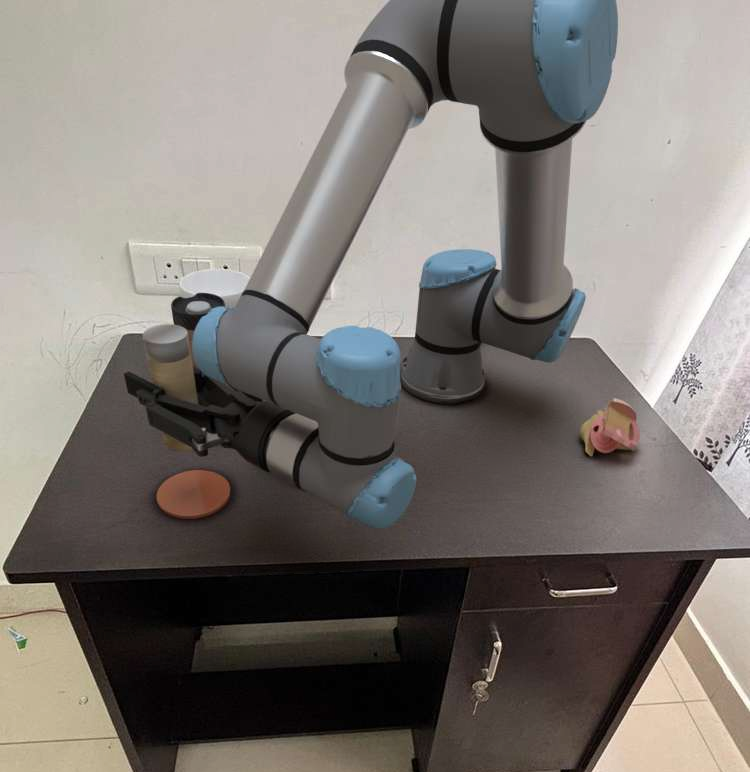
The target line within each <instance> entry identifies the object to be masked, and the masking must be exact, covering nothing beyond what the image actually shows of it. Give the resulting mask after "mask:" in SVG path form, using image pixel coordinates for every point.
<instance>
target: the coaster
mask: <svg viewBox="0 0 750 772" xmlns="http://www.w3.org/2000/svg"><path fill="white" fill-rule="evenodd" d="M230 498H231V486H230V483H229V481H228V480H227V479H226V478H225V477H224V476H223V475H221V474H219V473H217V472H214V471H211V470H205V469H193V470H187V471H182V472H179V473H176V474H174V475H172V476H170V477H169V478H167V479H166V480H164V482H163V481H162V483H161V485H160V486H159V487H158V489H157V492H156V502H157V505H158V508H160V510H161V511H162V512H163V513H165V514H166V515H168V516H171V517H173V518H176V519H182V520H196V519H201V518H205V517H209V516H210V515H213V514H215V513H217V512H219V511H220V510H222V508H224V507H225V506H226V505H227V504H228V502H229V500H230Z"/></svg>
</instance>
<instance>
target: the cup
mask: <svg viewBox="0 0 750 772" xmlns="http://www.w3.org/2000/svg"><path fill="white" fill-rule="evenodd" d="M250 278H251V277H250V276H248V275H247V274H246V273H245V272H241V271H238V270H235V269H228V268H208V269H207V268H206V269H201V270H196V271H193V272H191V273H188V274H186V275H184V276H183V277H182V278H181V279H180V280H179V284H178V285H179V287H178V289H179V292H180V296H181V297H183V298H189V297H193V296H195V295H196V294H197V293H210V294H214V295H217V296H219V297H221V298H222V299H223V300H224V303H225V307H233V308H235V306H236V305H237V302H238V300H239V299H240V297H241V295H242V293H243V291H244V290H245V288H246V286H247V284H248V282H249V280H250Z"/></svg>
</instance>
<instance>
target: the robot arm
mask: <svg viewBox="0 0 750 772" xmlns="http://www.w3.org/2000/svg"><path fill="white" fill-rule="evenodd" d="M618 15H619V13H618V5H617V0H388V2H387V3H386V4H385V5H384V6H383V7H382V8H381V9H380V10H379V12H378V13H376V15H375V16H374V17H373V18H372V19H371V20H370V22H369V23H368V24H367V26H366V28H365V29H364V31H363V32H362V34H361V35H360V37H359V38H358V40H357V42H356V44H355V46H354V48H353V50H352V52H351V53H350V56H349V58H348V60H347V61H346V64H345V67H344V72H343V75H344V82H345V86H346V87H345V89H344V90H343V92H342V94H341V97H340V99H339V101H338V103H337V105H336V107H335V108H334V111H333V113H332V115H331V117H330V118H329V121H328V123H327V125H326V127H325V129H324V131H323V133H322V134H321V137H320V139H319V140H318V142H317V145H316V146H315V148H314V150H313V152H312V154H311V157H310V158H309V160H308V163H307V164H306V167H305V168H304V171H303V173H302V175H300V179H299V180H298V182H297V184H296V186H295V188H294V189H293V192H292V194H291V196H290V198H289V201H288V202H287V204H286V207H285V208H284V211H283V212H282V214H281V216H280V218H279V220H278V221H277V224H276V226H275V228H274V230H273V232H272V235H271V236H270V238H269V239H268V242H267V244H266V246H265V248H264V250H263V252H262V254H261V255H260V257H259V260H258V262H257V264H256V266H255V268H254V270H253V272H252V274H251V276H250V277H249V278H250V280H249V282H248V284H247V286H246V288H245V290H244V291H243V293H242V295H241V297H240V299H239V300H238V302H237V305H236V306H235V308H233V307H216V308H213V309H211V310H210V311H209V313H208V314H207V315H205V316H203V317H202V318H201V319H200V321H199V322H198V324H197V326H196V328H195V331H194V335H193V341H192V351H193V357H194V360H195V362H196V364H197V366H198V367H196V366H193V371H194V378H195V384H196V391H197V392H199V393H200V392H202V391H204V387H206V394H207V396H208V394H209V395H212V396H213V397H214V398H215V399H216V400H217V401H218V402H219V403H221V404H222V405H223V406H224V408H222V407H218V406H215V405H209V406H208V407H205V406H202V405H198V404H194V403H191V402H187V401H184V400H180V399H176V398H173V397H169V396H166V395H165V390H164V389H162V388H160V387H158V386H156V385H155V384H153V383H152V381H149V380H147V379H145V378H143V377H141V376H139V375H137V374H135V373H133V372H131V371H127V372H123V377H124V381H125V386H126V391H127V393H128V394H129V395H131V396H133V397H135V398H136V399H137V401H138V403H139V405H142V406H143V407H145V412H146V416H147V421H148V425H149V426H151V427H153V428H154V429H157V430H158V431H160V432H161V433H162V432H164V433H166V434H167V435H169V436H171V437H173V438H175V439H177V440H179V441H180V442H182V443H184V444H186V445H188V446H190V447H192V449H193V450H192V451H194V453H195V454H196V455H197V456H198V457H200V458H201V457H202V458H203V457H204V458H205V457H206V456H208V455H209V449H211V448H214V447H217V446H220V447H222V448H225V449H230V450H231V449H232V450H234V451H236V452H237V453H238V454H239V455H240V456H241V457H242V458H243V460H245V461H246V462H248V463H249V464H251V465H253V466H255V467H257V468H259V469H261V470H263V471H264V472H266V473H270V474H271V475H273V476H274V477H277V478H278V479H280V480H282V481H284V482H286V483H288V484H289V485H291V486H293V487H295V488H297V489H298V490H301V491H302V492H304V493H307V494H309V495H310V496H312V497H314V498H316V499H317V500H319V501H320V502H322V503H324V504H327V505H328V506H329V507H332V509H333V508H334V509H335V510H337V511H339V512H341V513H342V514H344V515H346V517H347V518H348V519H352V520H355V521H357V522H360V523H362V524H364V525H366V526H369V527H371V528H373V529H377V530H384V529H387V528H390V527H391V526H392V525H394V524H395V523H396V522H397V521H398V520H399V519H400V518H401V517H402V516H403V515H404V514H405V512H406V510H407V509H408V507H409V505H410V503H411V501H412V500H413V497H414V493H415V490H416V486H417V475H416V473H415V470H414V467H413V466H411V464H409V463H407V462H406V461H404V460H403V458H401V457H397V456H395V450H396V442H395V435H396V427H397V417H398V407H399V400H400V399H399V398H400V396H401V390H402V387H403V388H404V389H405V391H407V392H408V393H409V394H411V395H412V396H414V397H416V398H418V399H420V400H423V401H427V402H430V403H436V404H441V405H442V404H443V405H455V404H462V403H467V402H470V401H472V400H474V399H476V398H478V397H479V396H480V395H481V394H482V393H483V391H484V387H485V383H486V382H485V381H486V376H485V375H486V374H485V370H484V368H483V358H482V351H481V345H482V344H484V345H487V346H491V347H493V348H497V349H500V350H504V351H506V352H510V353H512V354H516V355H518V356H522V357H524V358H528V359H530V360H532V361H540V362H543V363H549V364H550V363H554V362H556V361H557V360H558V359H560V357H561V356H562V354H563V353H564V350H565V349H566V348H567V344H568V343H569V340H570V338H571V336H572V335H573V332H574V330H575V328H576V326H577V323H578V321H579V318H580V315H581V314H582V311H583V309H584V305H585V302H586V299H587V295H586V293H585V292H584V291H582V290H580V289H579V288H573V287H574V282H573V280H574V279H573V276H572V274H571V272H570V270H569V268H568V267H567V266H566V265H565V264H564V263H565V262H564V261H565V250H566V249H565V248H566V235H567V223H568V222H567V220H568V205H569V193H570V192H569V191H570V179H571V178H570V177H571V164H572V163H571V162H572V150H573V149H572V148H573V139H574V138H575V137H576V136H577V135H578V134H579V133H580V132H581V131H582V130H583V128H584V126H585V125H586V123H587V121H589V120H591V119H592V118H593V117H594V116H595V115H596V113H597V112H598V111H599V109H600V107H601V106H602V103H603V101H604V100H605V97H606V94H607V92H608V88H609V85H610V82H611V78H612V73H613V62H614V60H615V58H616V54H617V48H618V46H617V45H618V35H619V16H618ZM443 101H449V102H452V103H459V104H463V105H469V106H476V107H477V109H478V117H479V129H480V132H481V135H482V137H483V139H484V140H485V141H486V142H487V143H488V144H489V145H490V146H491V147H493V148H494V152H495V153H494V154H495V155H494V156H495V171H496V189H497V191H496V192H497V206H498V207H497V208H498V209H497V210H498V211H497V212H498V227H499V228H498V229H499V247H500V262H501V263H500V265H501V266H500V267H501V268H500V269H498V268H497V260H496V257H495V255H493V254H491V253H490V252H488V251H485V250H481V249H471V248H458V249H449V250H444V251H440V252H436V253H434V254H432V255H431V256H429V257H428V258H427V259H426V260H425V262H424V263H423V266H422V270H421V276H420V281H419V283H418V288H419V291H418V298H417V299H418V300H417V309H416V321H415V332H414V339H413V342H412V344H411V347H410V349H409V350H408V353H407V356H406V357H405V358H404V359H403V361H402V364H401V350H400V346H399V345H398V343H397V341H396V340H395V339H394V338H393V337H392V336H391V335H390V334H388V333H387V332H384V331H383V330H381V329H379V328H375V327H371V326H366V327H360V326H358V325H346V326H341V327H336V328H334V329H331V330H329V331H328V332H327V333H325V334H324V335H323V336H322V338H318V337H315V336H312V335H309V334H308V333H309V330H310V328H311V326H312V325H313V322H314V320H315V318H316V316H317V314H318V313H319V312H318V311H320V308H321V306H322V304H323V302H324V300H325V298H326V296H327V295H328V292H329V290H330V288H331V286H332V284H333V282H334V280H335V278H336V275H337V274H338V272H339V269H340V268H341V266H342V264H343V262H344V261H345V258H346V255H347V254H348V251H349V250H350V248H351V246H352V245H353V244H352V243H353V242H354V240H355V238H356V236H357V233H358V232H359V230H360V228H361V225H362V223H363V222H364V220H365V218H366V216H367V214H368V211H369V209H370V207H371V205H372V203H373V202H374V199H375V198H376V196H377V194H378V192H379V189H380V187H381V185H382V183H383V182H384V179H385V178H386V175H387V174H388V171H389V169H390V167H391V166H392V163H393V161H394V160H395V158H396V155H397V153H398V152H399V149H400V147H401V145H402V143H403V141H404V139H405V137H406V135H407V133H408V131H409V130H410V129H414V128H417V127H419V126H420V125H421V124H422V123H423V122H424V120H425V119H426V117H427V115H428V113H429V111H430V109H431V107H432V106H433V105H434V104H436V103H440V102H443ZM401 365H402V367H401ZM203 386H204V387H203Z"/></svg>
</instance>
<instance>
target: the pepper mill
mask: <svg viewBox="0 0 750 772" xmlns="http://www.w3.org/2000/svg"><path fill="white" fill-rule="evenodd" d="M142 340H143V345H144V351H145V355H146V360H147V365H148V369H149V374H150V379H151V380H150V381H151V383H153V384H155V385H156V386H158V387H160V388H162V389H164V390H165V395H166V396H169V397H173V398H176V399H180V400H184V401H187V402H191V403H194V404H198V405H199V403H198V397H197V391H196V384H195V378H194V371H193V365H192V358H191V352H190V345H189V339H188V332H187V330H186V329H185V328H184V327H182V326H178V325H174V324H171V323H168V324H167V323H166V324H164V323H163V324H157V325H154V326H151V327H149V328H147V329H146V330H144V331H143V333H142ZM161 433H162V438H163V442H164V443H163V444H164V446H165V447H166V448H167V449H168V450H170V451H173V452H179V453H180V452H181V453H184V452H190V451H194V450H193V449H192V447H190V446H188V445H186V444H184V443H182V442H180V441H179V440H177V439H175V438H173V437H171V436H169V435H167V434H166V433H164V432H162V431H161Z"/></svg>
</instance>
